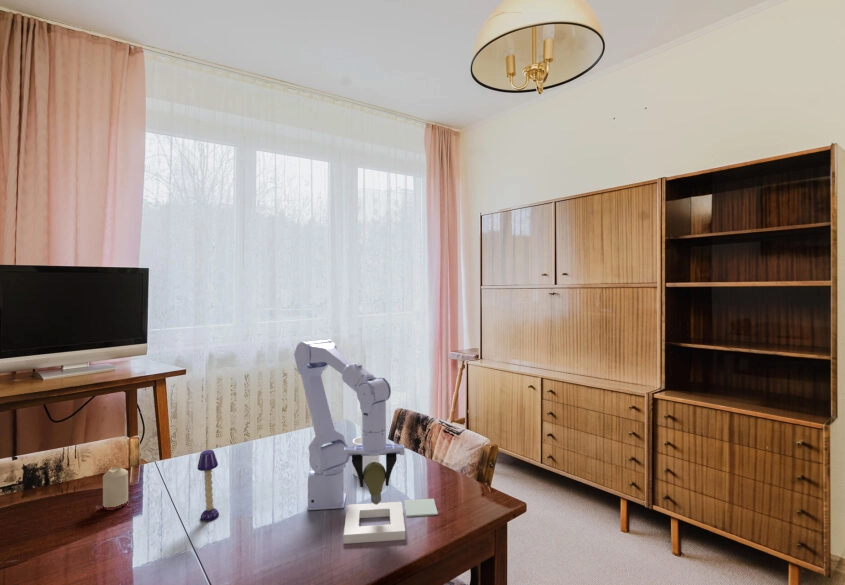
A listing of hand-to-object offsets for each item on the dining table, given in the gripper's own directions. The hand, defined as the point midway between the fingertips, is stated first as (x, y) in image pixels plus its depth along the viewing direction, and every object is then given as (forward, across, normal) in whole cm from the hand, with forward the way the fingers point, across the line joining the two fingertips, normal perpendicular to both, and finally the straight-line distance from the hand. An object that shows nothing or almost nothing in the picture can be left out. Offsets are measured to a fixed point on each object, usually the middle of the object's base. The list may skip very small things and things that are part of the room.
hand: (374, 484), depth 106 cm
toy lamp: (+10, -42, +9) cm, 44 cm away
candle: (+10, -69, +18) cm, 72 cm away
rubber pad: (+10, +12, +7) cm, 17 cm away
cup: (+10, -3, +34) cm, 36 cm away
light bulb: (+5, 0, 0) cm, 5 cm away
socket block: (+10, 0, 0) cm, 10 cm away
